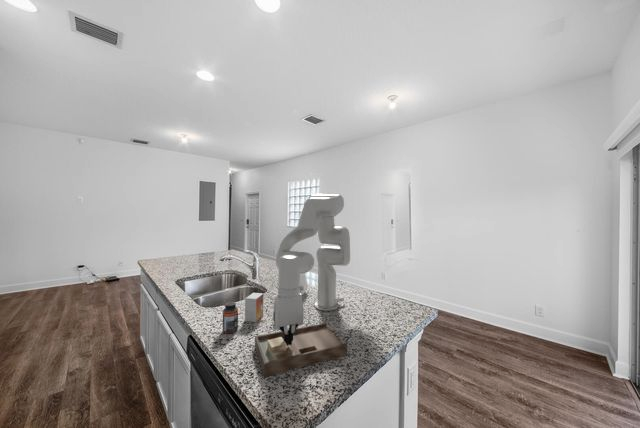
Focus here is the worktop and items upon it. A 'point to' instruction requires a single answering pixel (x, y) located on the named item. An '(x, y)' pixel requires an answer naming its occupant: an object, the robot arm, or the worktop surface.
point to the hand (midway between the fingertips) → (288, 343)
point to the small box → (254, 307)
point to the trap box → (300, 349)
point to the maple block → (276, 346)
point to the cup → (303, 283)
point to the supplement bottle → (230, 318)
